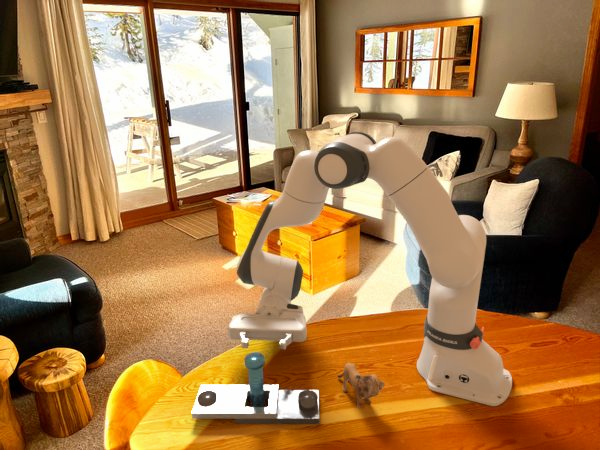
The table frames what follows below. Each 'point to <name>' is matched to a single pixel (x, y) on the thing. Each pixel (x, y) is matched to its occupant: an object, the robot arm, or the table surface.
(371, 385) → the lion figurine
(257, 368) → the pin
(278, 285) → the robot arm
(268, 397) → the latch plate
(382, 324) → the table surface
